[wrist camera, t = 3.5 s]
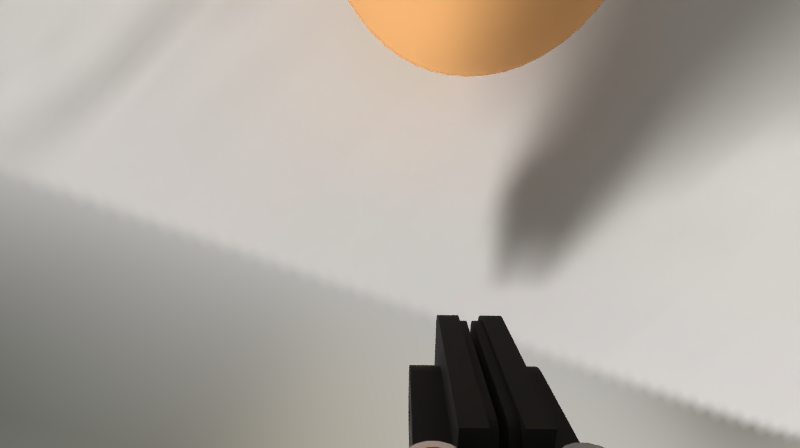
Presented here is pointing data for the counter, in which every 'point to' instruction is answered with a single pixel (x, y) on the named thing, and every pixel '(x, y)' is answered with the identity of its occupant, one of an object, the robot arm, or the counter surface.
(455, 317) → the robot arm
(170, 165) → the counter surface
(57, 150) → the counter surface
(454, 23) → the ball
